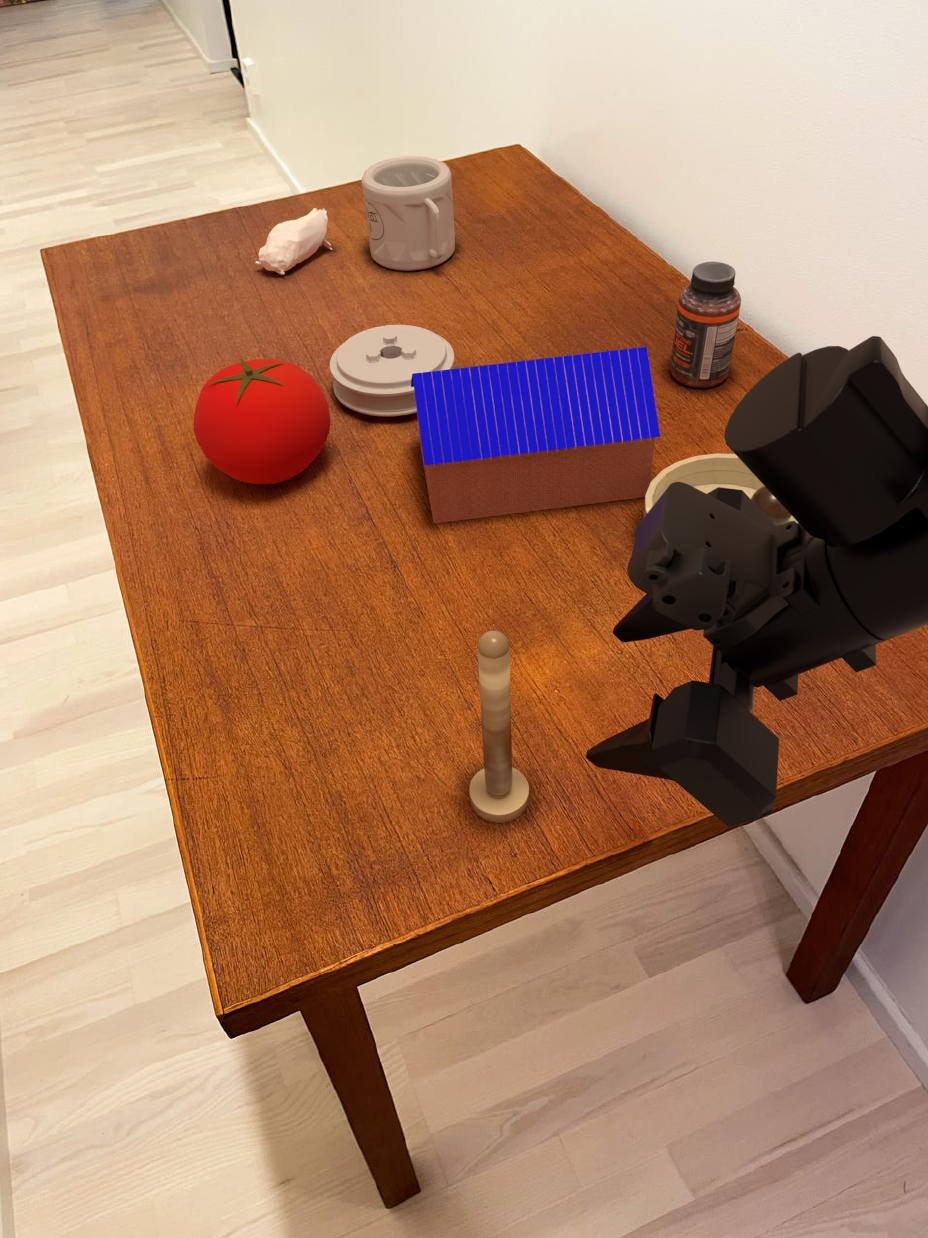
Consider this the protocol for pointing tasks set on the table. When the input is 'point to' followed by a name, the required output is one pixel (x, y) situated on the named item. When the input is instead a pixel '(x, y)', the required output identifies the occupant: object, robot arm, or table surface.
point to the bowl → (705, 477)
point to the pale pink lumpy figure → (294, 241)
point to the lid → (386, 368)
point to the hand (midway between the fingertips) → (605, 694)
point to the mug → (409, 212)
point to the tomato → (261, 420)
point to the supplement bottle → (706, 326)
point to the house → (536, 433)
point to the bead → (771, 506)
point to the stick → (497, 737)
